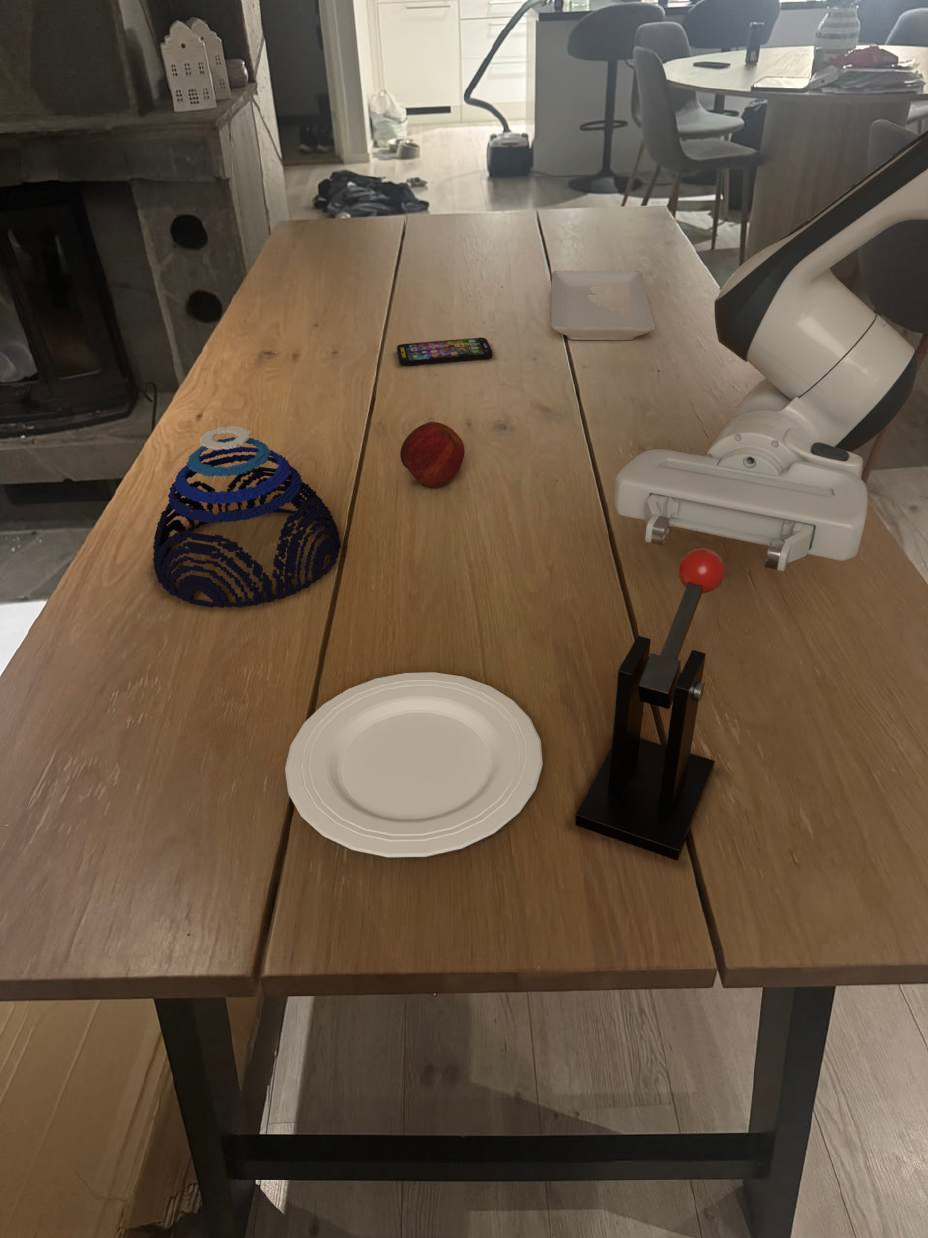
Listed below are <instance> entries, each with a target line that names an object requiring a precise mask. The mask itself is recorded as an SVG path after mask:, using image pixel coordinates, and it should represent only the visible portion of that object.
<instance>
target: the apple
mask: <svg viewBox="0 0 928 1238" xmlns="http://www.w3.org/2000/svg"><path fill="white" fill-rule="evenodd" d="M465 452H466V450H465V444H464V441H463V439H462V438H461V437H460V435H458V433H456V432H455V430H454V429H453V428H451V427H450V426H448V425H447V424H444V423H442V422H437V421H431V422H426V423H423V424H421V425H418V427H416V428H414V429H413V430H412V431H411V432H410V433H409V434H408V436H407V437H406V438H405V439H404V440H403V442H402V445H401V448H400V452H399V457H400V461H401V463H402V465H403V466H404V467H405V469H407V470H408V472H409V473H410V474H411V476H412V477H413V478H414V479H415V480H416V481H417V482H418V483H419V484H421V485H423V486H425V487H428V488H440V487H443V486H445V485H447V484H449V483H450V482H451V481H452V480H453V479H454V478H455V477H456V475H457V474H458V473H459V470H460V469H461V466H462V464H463V461H464V458H465Z"/></svg>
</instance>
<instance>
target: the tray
mask: <svg viewBox="0 0 928 1238" xmlns="http://www.w3.org/2000/svg"><path fill="white" fill-rule="evenodd" d="M617 283H628V284H629V292H630V293H629V295H631V301H632V302H631V305H632V306H631V313H630V314H629V316H628V315H627V316H628V317H627V316H625V315H623V316H622V315H619V314H620V313H618V312H615V311H613V312H612V310H610V308H609V309H608V307H604V306H602V307H601V304H600V305H599V306H598V303H597V304H596V303H595V302H594V303H593V301H590V300H591V299H589V296H588V295H597V293H596V294H595V293H594V292H593V293H592V290H590V288H591V287H593V286H594V287H596V286H602V285H604V286H605V285H610V284H617ZM587 296H588V297H587ZM550 327H551V329H552V330H553V331H555V332H557V333H559V334H561V335H563V336H566V337H567V338H568V339H569V340H572V341H632V340H634V339H635V338H636V337H639V336H642V335H645V334H649V333H650V332H652V331H655V329H656V323H655V320H654V317H653V313H652V309H651V304H650V301H649V297H648V293H647V289H646V285H645V282H644V277H643V274H642V272H641V271H639V270H638V271H637V270H554V271H552V273H551V283H550Z"/></svg>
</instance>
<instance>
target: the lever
mask: <svg viewBox="0 0 928 1238" xmlns="http://www.w3.org/2000/svg"><path fill="white" fill-rule="evenodd" d="M725 568H726V567H725V564H724V561H723V560H722V558H721V557H720V555H719V554H718V553H716V552H715V551H714V550H712V549H709V548H702V547H701V548H695V549H692V550H690V551H688V552H687V553H686V554H685V555H684V556H683V557H682V559H681V560H680V562H679V565H678V571H677V572H678V578H679V581H680V583H681V584H682V586H683V587H684V588H685V589H684V591H683V595H682V597H681V600H680V602H679V605H678V608H677V610H676V613H675V616H674V618H673V621H672V624H671V626H670V629H669V631H668V633H667V636H666V639H665V642H664V645H663V648H662V650H661V652H660V654H658V653H654V652H649V658H648V661H647V664H646V666H645V669H644V671H643V674H642V677H641V679H640V682H639V684H638V687H639V698H640V701H641V702H644V704H648V705H652V706H655V707H659V708H662V709H666V710H670V709H671V708H672V702H673V694H674V687H675V684H676V682H677V680H678V678H679V676H680V674H681V672H682V661H681V660H679V657H680V654H681V651H682V650H683V649H682V648H683V646H684V643H685V641H686V638H687V635H688V632H689V630H690V627H691V624H692V623H693V620H694V616H695V613H696V611H697V608H698V605H699V603H700V600H701V598H702V595H703V594H707V593H710V592H713V591H714V590H716V589H717V588H718V587H719V586H720V585H721V584H722V582H723V580H724V577H725V571H726V570H725Z"/></svg>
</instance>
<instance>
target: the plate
mask: <svg viewBox="0 0 928 1238" xmlns="http://www.w3.org/2000/svg"><path fill="white" fill-rule="evenodd" d="M542 750H543V749H542V741H541V738H540V736H539V734H538V732H537V730H536V727H535V725H534V723H533V721H532V718H530V717H529V715H528V714H527V713H526V712H525V711H524V710H523V709H522V708H521V707H520V705H518V704H517V703H516V701H515V700H513V699H511V698H510V697H509V696H507V695H505V694H504V693H502V692H500V691H499V690H497V689H496V688H495V687H493V686H491V685H488V684H485V683H483V682H480V681H478V680H475V679H471V678H468V677H466V676H463V675H462V676H460V675H454V674H448V673H441V672H433V671H432V672H403V673H398V674H391V675H388V676H382V677H377V678H373V679H371V680H369V681H366V682H363V683H361V684H358V685H355V686H352V687H350V688H348V689H346V690H344V691H342V692H341V693H339V694H338V695H336V696H334V697H332V698H331V699H329V700H328V701H326V702H325V703H323V704H322V705H321V706H319V707H318V709H317V710H315V712H313V714H311V715H310V716H309V717H308V718H307V719H306V720H305V721H304V722H303V723H302V725H301V727H300V728H299V730H298V732H297V734H296V735H295V737H294V739H293V740H292V742H291V743H290V745H289V750H288V754H287V758H286V763H285V766H284V772H285V779H286V786H287V787H286V788H287V793H288V796H289V798H290V800H291V802H292V803H293V805H294V807H295V808H296V810H297V812H298V814H299V816H300V818H301V819H302V820H303V821H304V822H306V824H308V825H309V826H310V827H311V828H312V829H314V830H315V831H316V833H318V835H321V837H322V838H324V839H326V840H328V841H331V842H332V843H334V844H337V845H338V846H340V847H342V848H345V849H347V850H348V851H351V852H353V853H358V854H362V855H363V854H364V855H369V856H372V857H373V856H374V857H378V858H384V859H388V860H389V859H390V860H391V859H395V860H396V859H427V858H432V857H437V856H440V855H445V854H451V853H454V852H459V851H462V850H465V849H466V848H469V847H471V846H474V845H475V844H478V843H480V842H481V841H484V840H485V839H488V838H490V837H493V836H494V835H495V834H497V833H498V832H499V831H500V830H501V829H503V828H504V827H505V826H507V825H508V824H509V823H510V822H511V821H513V820H514V819H515V818H516V817H518V816H519V815H520V814H521V812H522V811H523V809H524V808H525V806H526V805H527V804H528V803H529V801H530V800H531V798H532V797H533V795H534V794H535V792H536V791H537V786H538V784H539V780H540V777H541V773H542V769H543V766H544V765H543V752H542Z"/></svg>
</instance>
